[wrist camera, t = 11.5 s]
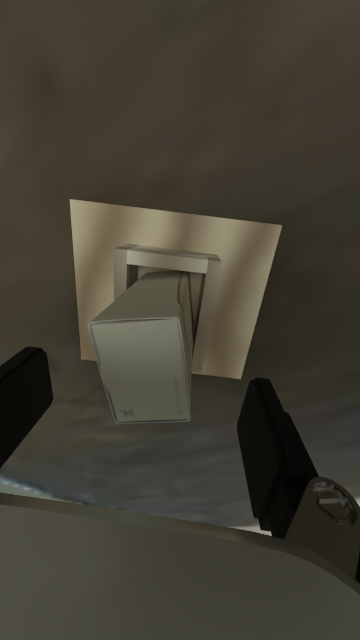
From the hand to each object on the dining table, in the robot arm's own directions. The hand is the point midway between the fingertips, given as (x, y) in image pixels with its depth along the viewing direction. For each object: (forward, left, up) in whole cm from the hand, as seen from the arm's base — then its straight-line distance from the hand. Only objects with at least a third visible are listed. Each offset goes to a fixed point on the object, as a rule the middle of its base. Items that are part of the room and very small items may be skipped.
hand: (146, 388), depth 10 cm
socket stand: (0, 0, -14) cm, 14 cm away
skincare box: (0, 0, -13) cm, 13 cm away
